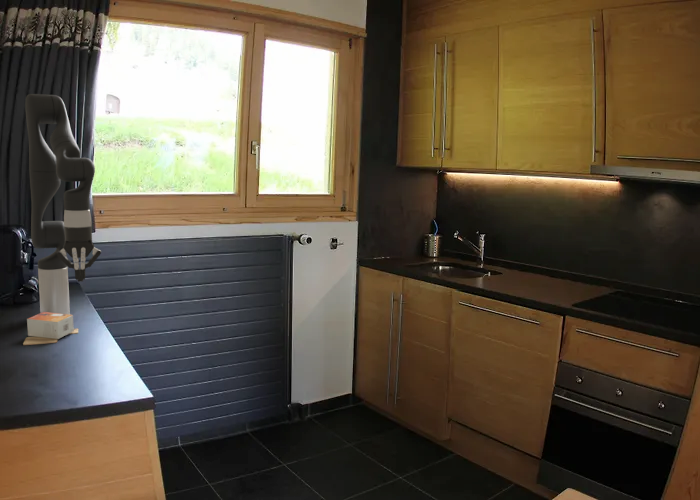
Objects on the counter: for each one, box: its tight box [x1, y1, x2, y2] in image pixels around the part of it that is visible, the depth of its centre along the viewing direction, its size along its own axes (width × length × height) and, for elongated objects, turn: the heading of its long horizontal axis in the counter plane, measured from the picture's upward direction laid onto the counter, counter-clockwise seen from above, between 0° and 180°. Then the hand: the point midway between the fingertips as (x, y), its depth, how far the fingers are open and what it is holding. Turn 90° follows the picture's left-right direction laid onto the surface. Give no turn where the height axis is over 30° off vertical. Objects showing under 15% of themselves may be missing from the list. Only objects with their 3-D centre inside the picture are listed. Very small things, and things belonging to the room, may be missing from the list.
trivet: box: [22, 336, 59, 346], centre depth 189 cm, size 7×9×1 cm
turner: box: [68, 328, 79, 335], centre depth 197 cm, size 14×5×1 cm, turn 113°
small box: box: [26, 312, 75, 340], centre depth 193 cm, size 8×6×10 cm
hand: (80, 281), depth 190 cm, fingers closed
